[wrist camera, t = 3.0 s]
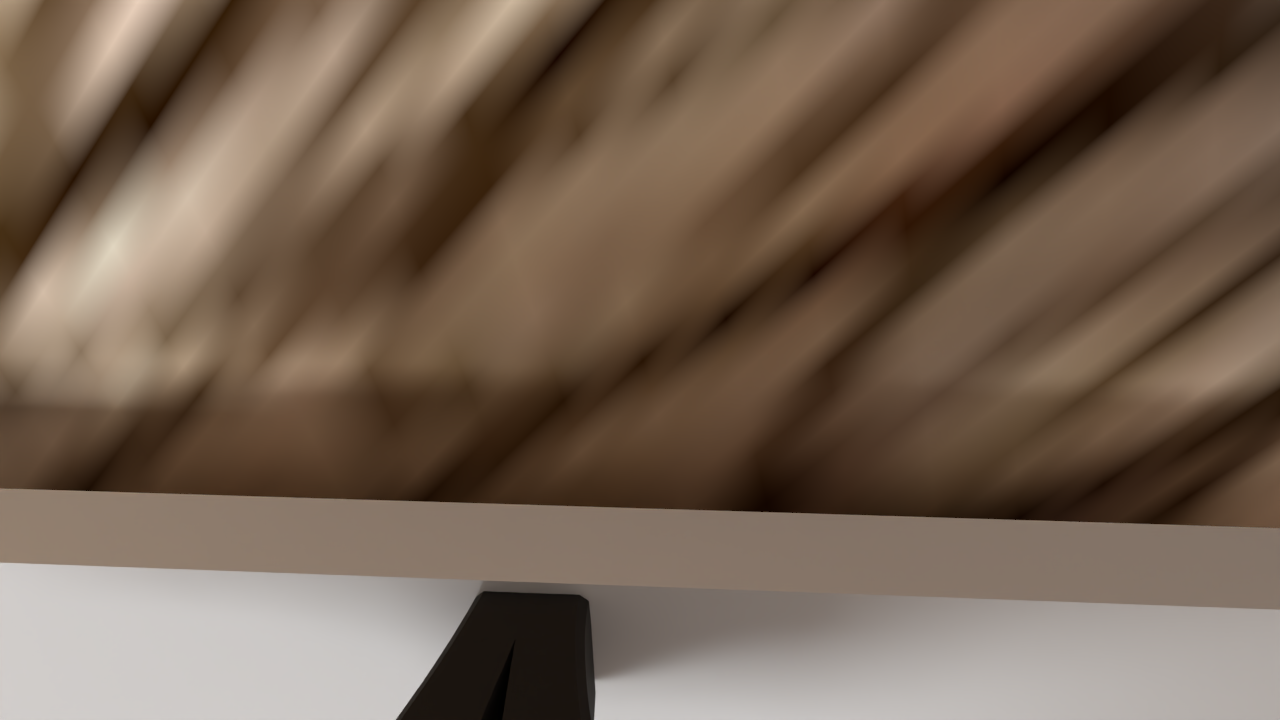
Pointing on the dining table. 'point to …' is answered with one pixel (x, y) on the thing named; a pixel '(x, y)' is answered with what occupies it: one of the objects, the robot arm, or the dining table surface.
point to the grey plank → (628, 610)
